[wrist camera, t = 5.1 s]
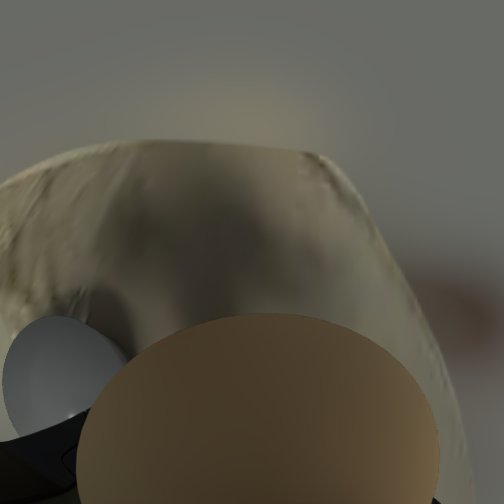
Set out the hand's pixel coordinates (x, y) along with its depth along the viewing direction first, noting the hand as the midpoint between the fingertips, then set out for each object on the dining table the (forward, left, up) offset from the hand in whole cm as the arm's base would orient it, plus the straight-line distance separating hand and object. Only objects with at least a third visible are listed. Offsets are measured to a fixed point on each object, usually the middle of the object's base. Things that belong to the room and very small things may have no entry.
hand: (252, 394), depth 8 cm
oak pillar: (-1, -1, -7) cm, 7 cm away
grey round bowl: (-9, +7, -11) cm, 16 cm away
